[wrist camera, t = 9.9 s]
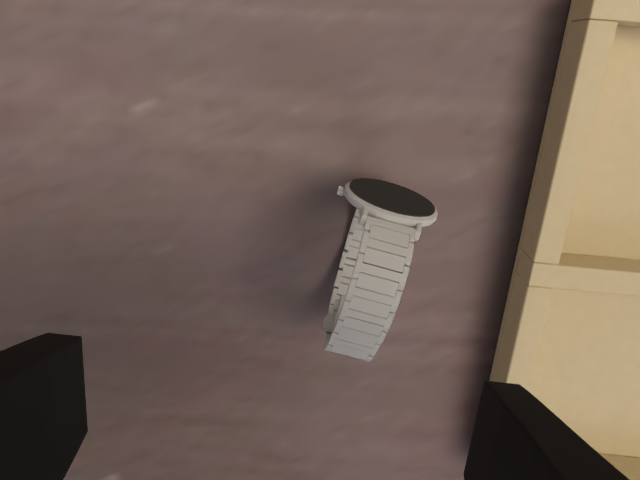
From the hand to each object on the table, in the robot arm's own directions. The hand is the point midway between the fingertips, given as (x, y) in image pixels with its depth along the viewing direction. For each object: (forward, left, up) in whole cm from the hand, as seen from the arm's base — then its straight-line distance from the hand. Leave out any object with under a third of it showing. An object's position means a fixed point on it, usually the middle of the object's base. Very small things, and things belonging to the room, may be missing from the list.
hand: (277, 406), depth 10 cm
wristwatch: (0, -2, -10) cm, 10 cm away
